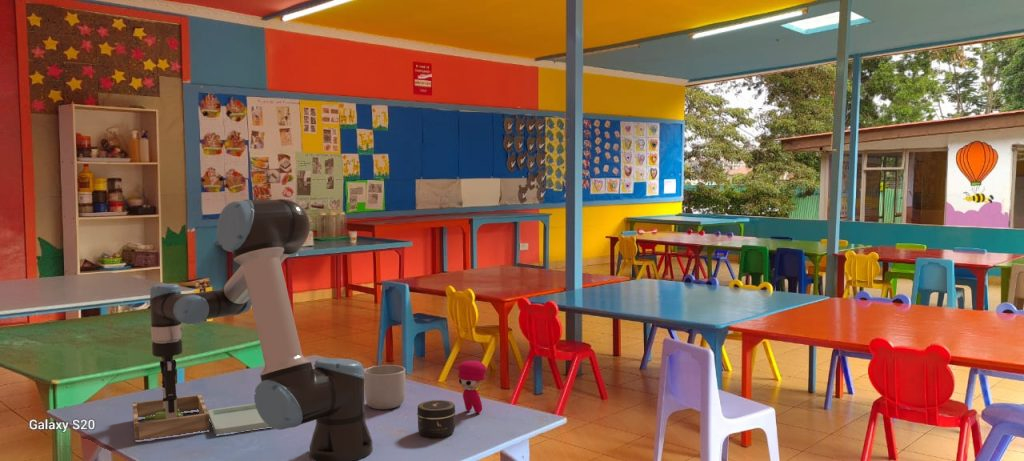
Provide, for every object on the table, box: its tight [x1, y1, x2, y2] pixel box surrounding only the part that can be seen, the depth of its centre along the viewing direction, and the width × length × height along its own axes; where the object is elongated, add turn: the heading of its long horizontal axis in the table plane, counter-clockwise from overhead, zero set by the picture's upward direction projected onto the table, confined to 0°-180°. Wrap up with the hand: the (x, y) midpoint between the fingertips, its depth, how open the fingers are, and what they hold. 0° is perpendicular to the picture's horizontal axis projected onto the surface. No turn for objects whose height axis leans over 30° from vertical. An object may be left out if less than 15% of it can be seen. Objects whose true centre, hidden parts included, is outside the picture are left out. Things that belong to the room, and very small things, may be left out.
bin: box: [132, 393, 211, 441], centre depth 209 cm, size 22×18×5 cm
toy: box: [457, 359, 488, 414], centre depth 218 cm, size 8×8×15 cm
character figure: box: [144, 408, 184, 422], centre depth 207 cm, size 12×5×12 cm
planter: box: [363, 364, 406, 410], centre depth 226 cm, size 12×12×11 cm
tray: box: [207, 402, 270, 435], centre depth 213 cm, size 20×20×2 cm
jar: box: [416, 399, 456, 439], centre depth 200 cm, size 10×10×8 cm
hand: (170, 417), depth 209 cm, fingers open, 12 cm apart
